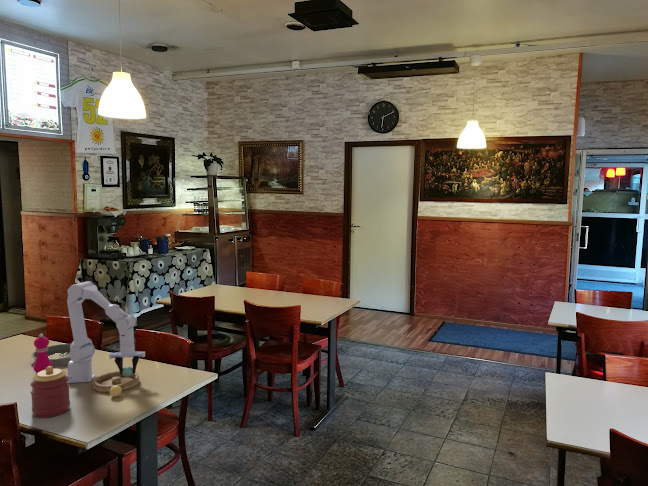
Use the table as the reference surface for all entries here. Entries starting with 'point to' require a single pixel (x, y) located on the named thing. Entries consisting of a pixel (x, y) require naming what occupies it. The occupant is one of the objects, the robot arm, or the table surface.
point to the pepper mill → (41, 354)
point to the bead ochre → (115, 391)
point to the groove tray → (114, 381)
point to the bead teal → (127, 371)
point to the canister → (50, 392)
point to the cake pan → (57, 349)
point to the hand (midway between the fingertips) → (127, 373)
